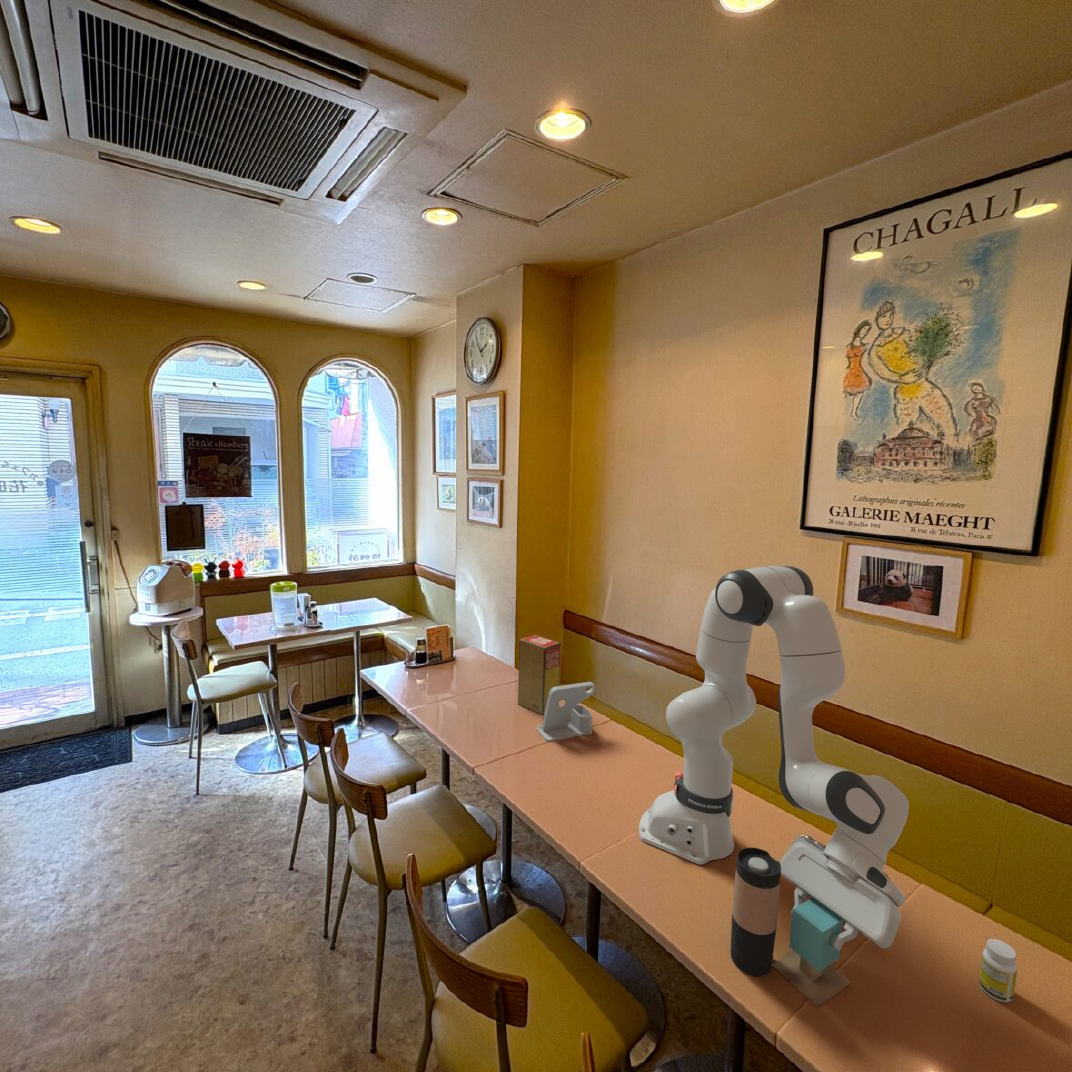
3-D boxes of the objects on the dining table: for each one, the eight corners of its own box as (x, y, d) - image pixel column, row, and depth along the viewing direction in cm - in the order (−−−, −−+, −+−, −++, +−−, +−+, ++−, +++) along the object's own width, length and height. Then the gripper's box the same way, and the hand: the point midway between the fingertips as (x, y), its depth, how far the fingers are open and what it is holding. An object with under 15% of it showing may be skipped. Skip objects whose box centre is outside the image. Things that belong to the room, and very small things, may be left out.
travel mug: (728, 969, 103) (735, 869, 100) (729, 937, 110) (736, 842, 107) (773, 984, 100) (782, 881, 97) (772, 949, 107) (780, 853, 104)
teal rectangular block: (789, 947, 102) (792, 909, 101) (809, 934, 105) (812, 897, 104) (819, 972, 97) (822, 932, 96) (839, 957, 100) (843, 919, 99)
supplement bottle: (997, 978, 102) (1003, 936, 101) (1020, 1003, 97) (1027, 960, 96) (971, 978, 102) (977, 937, 101) (993, 1003, 97) (999, 960, 96)
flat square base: (772, 966, 103) (775, 934, 103) (803, 945, 108) (806, 915, 107) (818, 1007, 96) (821, 973, 95) (849, 983, 100) (852, 951, 99)
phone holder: (581, 720, 199) (582, 671, 197) (594, 733, 190) (596, 682, 187) (535, 728, 192) (536, 678, 190) (547, 742, 183) (548, 689, 181)
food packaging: (560, 707, 209) (561, 642, 205) (542, 715, 202) (544, 648, 199) (533, 696, 218) (535, 634, 214) (516, 704, 211) (517, 639, 208)
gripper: (793, 823, 111) (757, 886, 108) (903, 891, 94) (864, 969, 90) (806, 837, 114) (771, 899, 110) (915, 905, 97) (878, 982, 93)
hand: (814, 931), depth 100 cm, fingers closed on teal rectangular block, 6 cm apart
